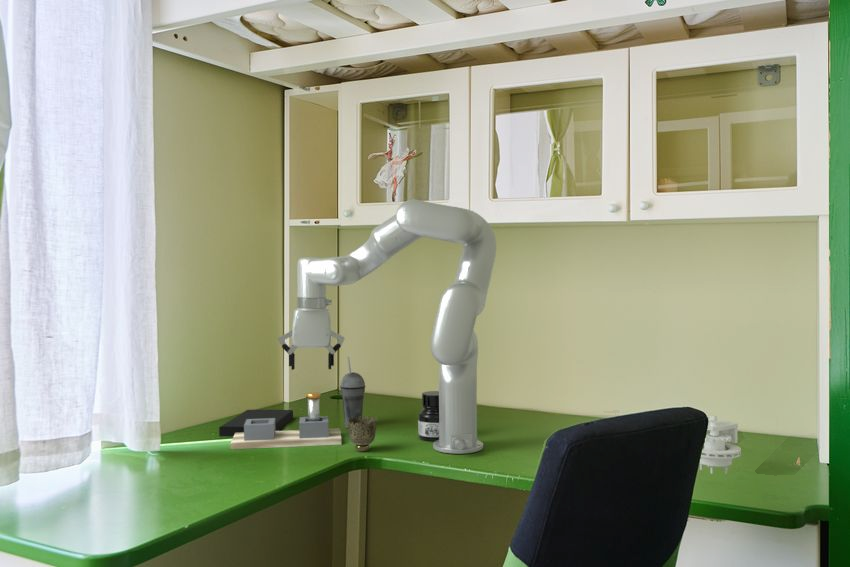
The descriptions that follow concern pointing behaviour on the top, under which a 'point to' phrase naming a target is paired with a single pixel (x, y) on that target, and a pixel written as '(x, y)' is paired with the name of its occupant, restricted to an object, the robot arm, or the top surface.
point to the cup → (362, 432)
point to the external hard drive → (238, 422)
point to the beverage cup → (352, 395)
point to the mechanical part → (720, 444)
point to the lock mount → (313, 428)
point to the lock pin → (313, 406)
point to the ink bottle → (429, 416)
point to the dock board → (286, 440)
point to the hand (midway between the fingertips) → (311, 368)
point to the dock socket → (259, 429)
